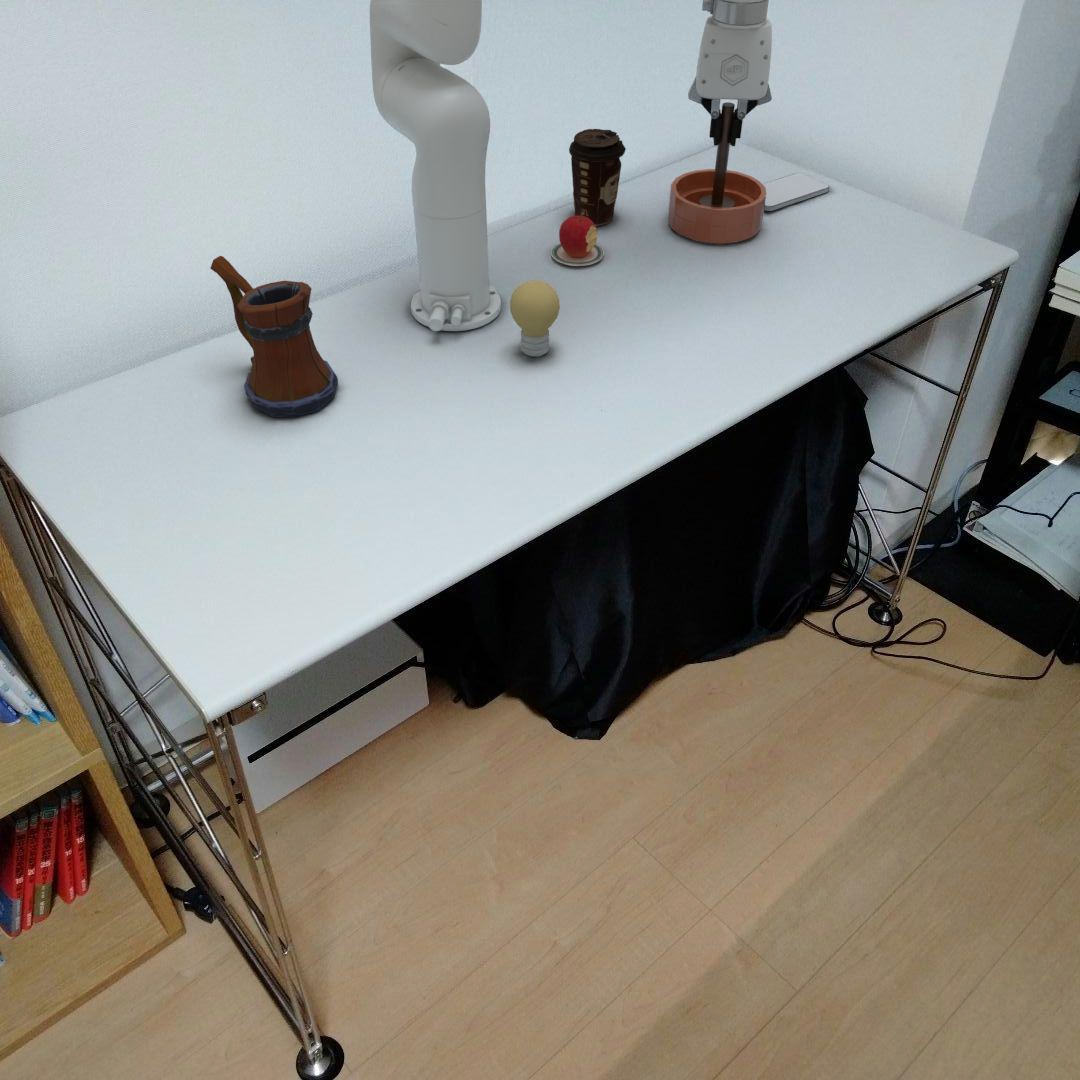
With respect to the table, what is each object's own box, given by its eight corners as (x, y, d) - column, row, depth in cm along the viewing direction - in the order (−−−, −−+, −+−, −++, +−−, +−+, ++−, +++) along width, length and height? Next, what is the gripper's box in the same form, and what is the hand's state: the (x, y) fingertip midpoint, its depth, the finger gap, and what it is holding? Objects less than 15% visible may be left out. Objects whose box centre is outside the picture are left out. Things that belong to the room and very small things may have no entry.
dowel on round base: (734, 222, 161) (749, 112, 149) (698, 221, 161) (709, 111, 150) (732, 206, 165) (746, 97, 154) (697, 205, 165) (708, 96, 154)
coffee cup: (622, 207, 169) (627, 127, 160) (620, 230, 163) (625, 149, 154) (569, 205, 170) (571, 125, 161) (565, 228, 163) (567, 146, 155)
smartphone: (832, 186, 173) (768, 207, 166) (831, 193, 173) (767, 214, 167) (800, 171, 177) (736, 191, 170) (798, 178, 178) (735, 198, 171)
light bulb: (517, 368, 134) (516, 299, 128) (505, 342, 139) (504, 275, 132) (565, 361, 136) (566, 292, 129) (551, 335, 140) (552, 268, 133)
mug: (201, 372, 134) (172, 267, 124) (276, 338, 140) (255, 235, 130) (281, 432, 124) (257, 323, 114) (357, 393, 130) (341, 286, 120)
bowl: (763, 248, 158) (769, 211, 154) (668, 244, 159) (671, 207, 155) (757, 206, 169) (762, 170, 165) (667, 203, 170) (670, 167, 166)
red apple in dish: (602, 243, 160) (603, 202, 155) (605, 268, 154) (607, 227, 149) (550, 243, 160) (550, 203, 155) (551, 268, 154) (552, 227, 149)
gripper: (682, 17, 141) (671, 150, 153) (800, 19, 140) (779, 154, 152) (682, 0, 146) (671, 131, 159) (795, 3, 145) (775, 134, 158)
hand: (724, 141), depth 155 cm, fingers closed on dowel on round base
